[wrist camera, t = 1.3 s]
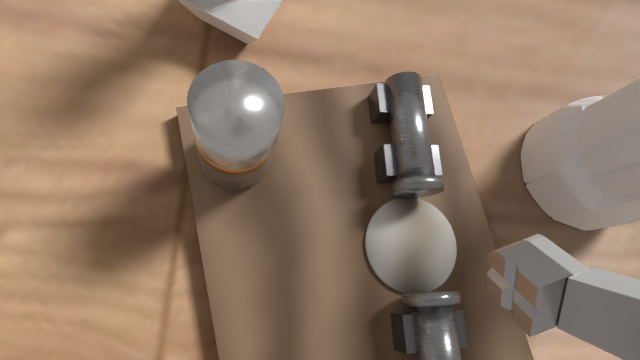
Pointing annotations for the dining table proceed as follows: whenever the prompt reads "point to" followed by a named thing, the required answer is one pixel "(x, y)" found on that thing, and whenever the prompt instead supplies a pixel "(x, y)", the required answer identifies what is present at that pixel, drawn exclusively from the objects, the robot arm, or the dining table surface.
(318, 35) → the dining table surface
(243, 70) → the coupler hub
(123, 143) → the dining table surface
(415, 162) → the far steel shaft
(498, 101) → the dining table surface
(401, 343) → the near steel shaft
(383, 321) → the walnut base board
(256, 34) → the white peg on base
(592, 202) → the decorative vase
